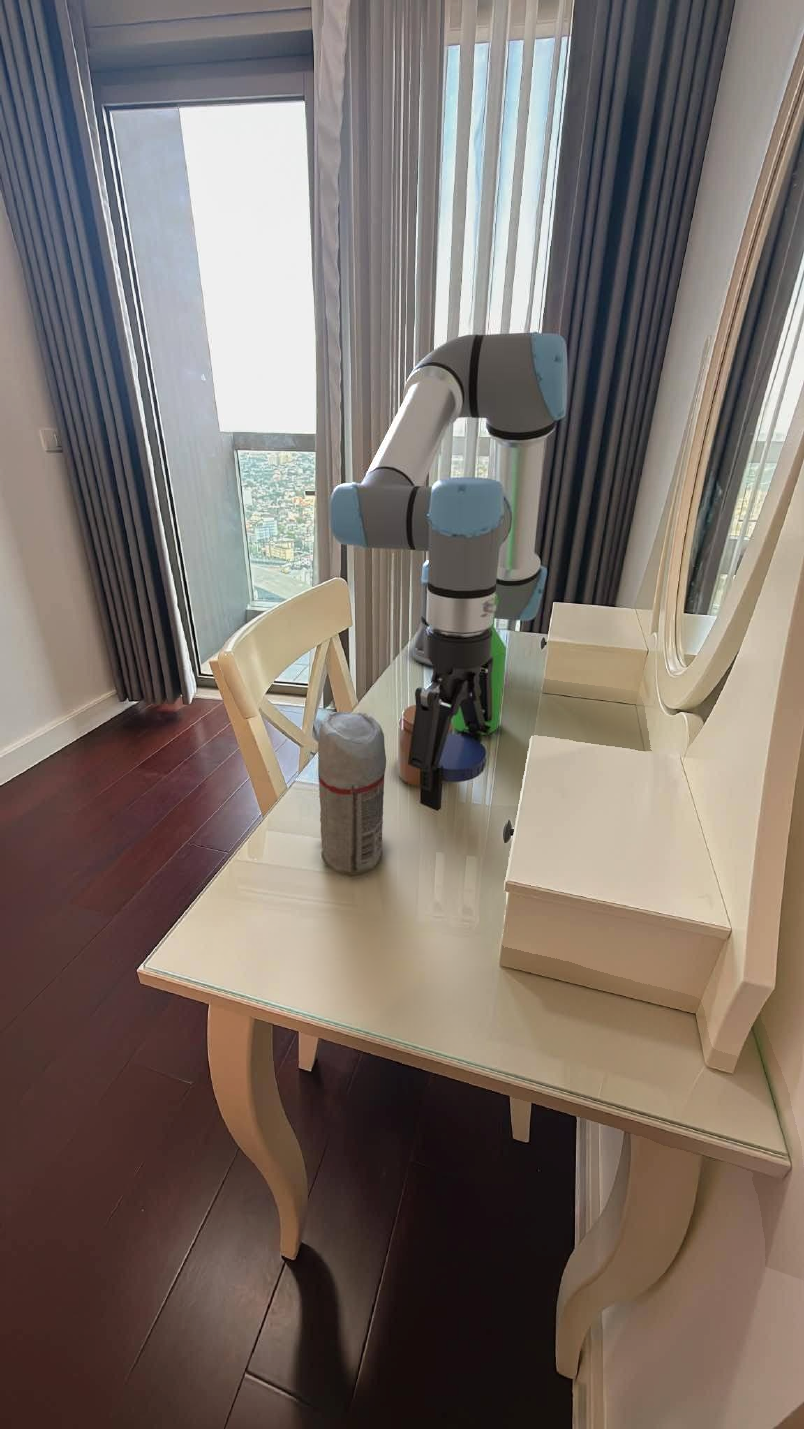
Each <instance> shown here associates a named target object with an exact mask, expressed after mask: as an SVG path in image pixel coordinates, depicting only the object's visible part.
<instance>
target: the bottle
mask: <svg viewBox="0 0 804 1429" xmlns="http://www.w3.org/2000/svg"><path fill="white" fill-rule="evenodd" d="M494 604H495V605H496V606H497V605H498V598H497V595H496V594H495V603H494ZM495 620H496V618H495V612H494V615H493V624H492V626H490V629H491V630H492V644H491V655H490V657H492V658H493V659H494V661H493V668H492V674H491V675H492V721H491V722H490V723H488V722H486V723H485V725H488V726H490V731H489V733H488V734H485V733H481V734H482V736H485V735H489V734H491V733H493V732H494V731H496V730H497V729H498V728H499V724H500V718H501V707H502V698H503V688H504V676H505V667H506V656H507V647H506V645H505V644H504V642H503V640H502V638H501V637H500V635H499V633H498V631H497V629H496V628H495ZM482 711H483V712H485V710H483V709H482ZM451 721H452V724H453V728H454V729H456V730H457V731H458V732H459V733H461V730H463V729H464V728H465V729H468V727H466V726H465V722H464V719H463V715H462V712H461V708H460V706H459V710H458V713H457V714H456V715H454V716H453V717H452V720H451Z"/></svg>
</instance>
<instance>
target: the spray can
mask: <svg viewBox="0 0 804 1429" xmlns="http://www.w3.org/2000/svg"><path fill="white" fill-rule="evenodd" d="M317 737H318V739H317V776H318V778H317V779H318V791H319V795H318V797H319V805H320V806H319V807H320V812H319V813H320V814H319V816H320V818H319V822H320V837H321V859H322V861H323V862H324V864H325V865H326V867H328V868H330V869H332V870H334V871H336V872H338V873H340V874H345V875H347V876H353V875H357V874H363V873H367V872H369V871H371V870H372V869H373V868H374V867H376V865H377V864H378V863H379V860H380V858H381V857H382V854H383V826H384V825H383V824H384V819H383V817H384V796H385V789H384V788H385V774H386V768H387V756H386V747H385V734H384V731H383V728H382V726H381V724H380V723H379V722H378V721H377V719H375V717H373V716H372V715H371V714H369V713H367V712H353V713H350V712H347V711H344V710H343V711H333V712H328V713H327V714H326V715H325V716H324V718H323V720H322V722H321V724H320V728H319V730H318V736H317Z"/></svg>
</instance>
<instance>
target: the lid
mask: <svg viewBox="0 0 804 1429" xmlns="http://www.w3.org/2000/svg"><path fill="white" fill-rule="evenodd" d="M439 764H441V765H443V778H442V781H445V782H447V783H463V782H467V781H471V780H473V779H476V778H477V777H479V776H480V775H481V774H482V773H483V772H484V771H485V768H486V767H487V750H486V747H485V746H484V745H483V744H482V742H481V743H480V742H479V741H478V740H476V739H474V738H472V737H469V736H466V735H462V734H461V733H453V732H452V733H448V734H447V738H446V741H445V745H444V748H443V752H442V755H441V759H440V762H439Z"/></svg>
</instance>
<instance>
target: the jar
mask: <svg viewBox="0 0 804 1429" xmlns="http://www.w3.org/2000/svg"><path fill="white" fill-rule="evenodd" d="M415 710H416V704H413V705H409V706H407V707H406V708H405V709H404V710H403V711H402V712H401V717H400V718H399V720H398V723H397V774H398V776H399V778H400V779H401V780H402V781H403V782H405V783H406V784H408V785H410V786H414V787H417V788H421V787H420V769H417V768H415V767H413V766H410V765H409V764H408V759H409V752H410V745H411V738H412V731H413V724H414V717H415ZM453 728H454V726H453V724H452V721H451V724H450V727H449V731H448V733H453ZM443 783H446V781H442V784H443Z"/></svg>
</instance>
